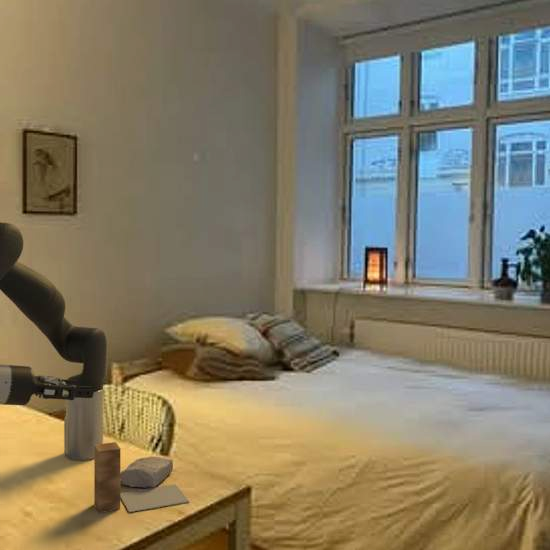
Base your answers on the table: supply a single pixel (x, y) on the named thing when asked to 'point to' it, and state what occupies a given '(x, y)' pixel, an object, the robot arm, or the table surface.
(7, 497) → the table surface
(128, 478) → the stone block
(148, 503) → the felt pad
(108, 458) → the walnut block
